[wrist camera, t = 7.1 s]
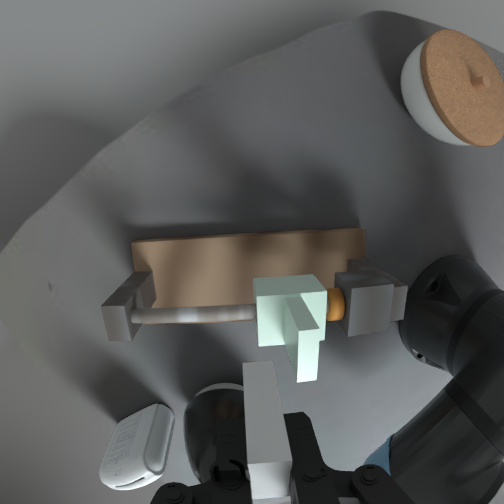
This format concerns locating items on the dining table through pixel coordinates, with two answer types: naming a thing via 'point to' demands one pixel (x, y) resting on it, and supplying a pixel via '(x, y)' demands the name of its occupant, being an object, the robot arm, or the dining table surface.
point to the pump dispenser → (209, 423)
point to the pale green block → (292, 319)
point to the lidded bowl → (454, 90)
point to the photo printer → (138, 448)
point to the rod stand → (251, 280)
